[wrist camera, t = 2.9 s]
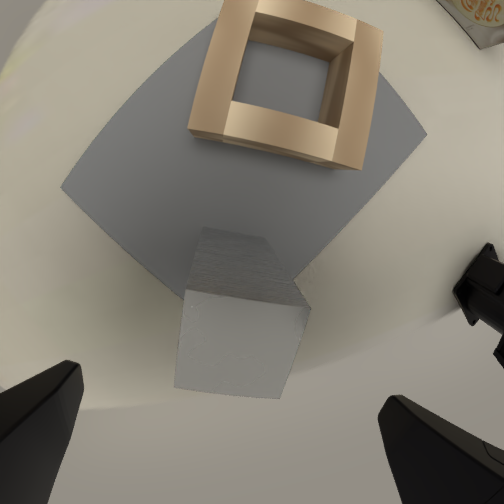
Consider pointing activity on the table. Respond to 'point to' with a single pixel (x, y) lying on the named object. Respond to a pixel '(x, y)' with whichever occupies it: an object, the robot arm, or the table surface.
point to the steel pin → (238, 318)
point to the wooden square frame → (302, 41)
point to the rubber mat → (228, 165)
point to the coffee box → (479, 19)
